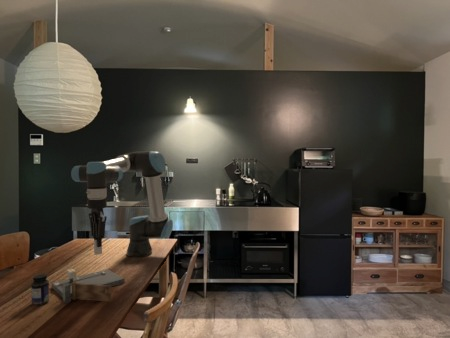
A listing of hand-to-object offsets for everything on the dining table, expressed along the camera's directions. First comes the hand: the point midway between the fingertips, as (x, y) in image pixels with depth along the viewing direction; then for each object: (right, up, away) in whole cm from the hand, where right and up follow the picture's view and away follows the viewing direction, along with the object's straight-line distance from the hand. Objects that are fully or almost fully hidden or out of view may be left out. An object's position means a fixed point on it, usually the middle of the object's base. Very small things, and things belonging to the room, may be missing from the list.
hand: (98, 253), depth 132 cm
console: (-9, -18, +12) cm, 23 cm away
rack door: (-1, -18, -4) cm, 18 cm away
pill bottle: (-21, -18, -6) cm, 28 cm away
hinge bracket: (-11, -18, -5) cm, 22 cm away
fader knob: (-16, -15, +10) cm, 25 cm away
